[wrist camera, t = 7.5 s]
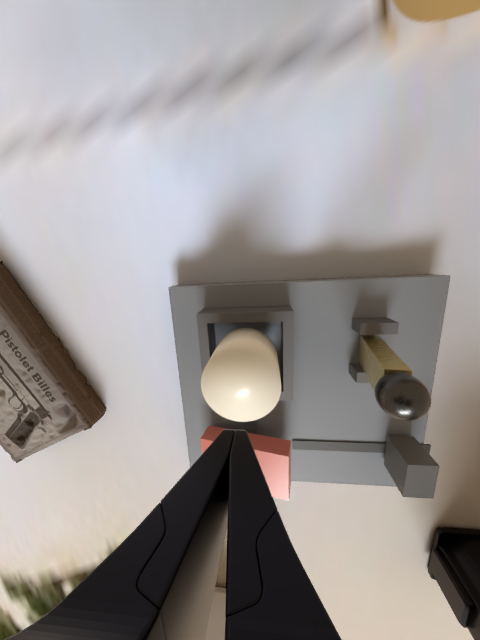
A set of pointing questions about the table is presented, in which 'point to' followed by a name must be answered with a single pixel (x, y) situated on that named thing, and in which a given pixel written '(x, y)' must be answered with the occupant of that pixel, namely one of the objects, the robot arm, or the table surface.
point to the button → (242, 376)
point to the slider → (410, 467)
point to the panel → (315, 363)
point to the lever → (392, 380)
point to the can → (217, 616)
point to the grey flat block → (37, 380)
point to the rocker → (265, 459)
